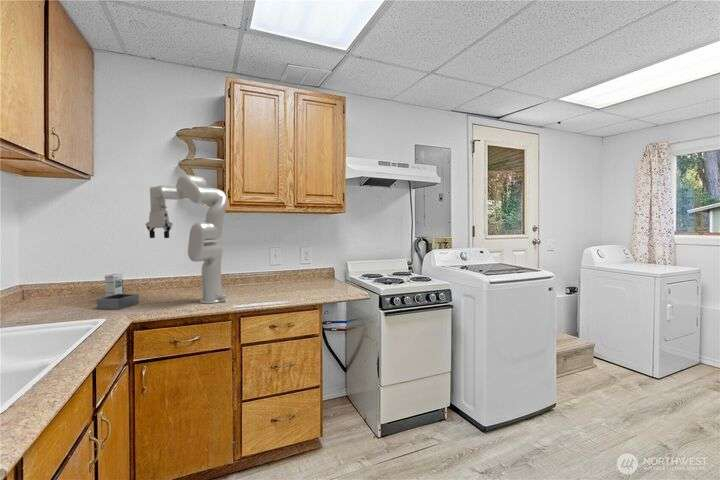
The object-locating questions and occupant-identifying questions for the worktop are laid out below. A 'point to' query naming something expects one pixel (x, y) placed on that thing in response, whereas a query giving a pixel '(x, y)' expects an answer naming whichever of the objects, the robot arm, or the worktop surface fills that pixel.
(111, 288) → the syrup box
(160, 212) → the robot arm
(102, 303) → the grey square tray
